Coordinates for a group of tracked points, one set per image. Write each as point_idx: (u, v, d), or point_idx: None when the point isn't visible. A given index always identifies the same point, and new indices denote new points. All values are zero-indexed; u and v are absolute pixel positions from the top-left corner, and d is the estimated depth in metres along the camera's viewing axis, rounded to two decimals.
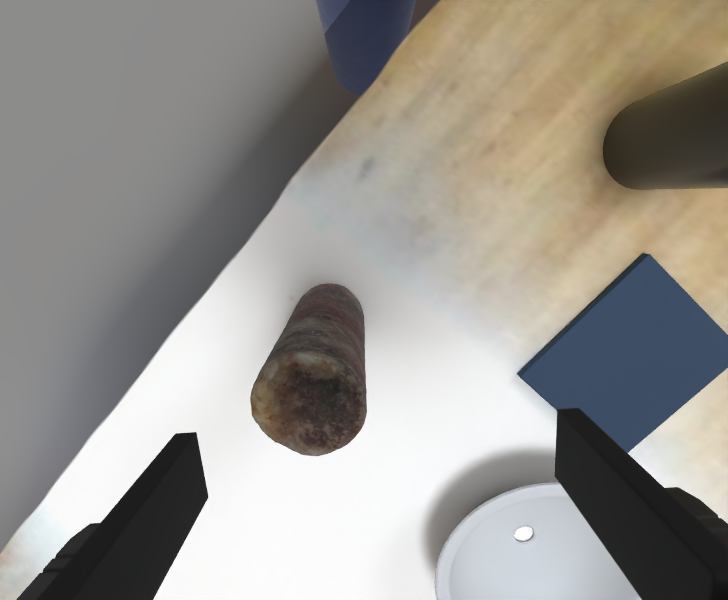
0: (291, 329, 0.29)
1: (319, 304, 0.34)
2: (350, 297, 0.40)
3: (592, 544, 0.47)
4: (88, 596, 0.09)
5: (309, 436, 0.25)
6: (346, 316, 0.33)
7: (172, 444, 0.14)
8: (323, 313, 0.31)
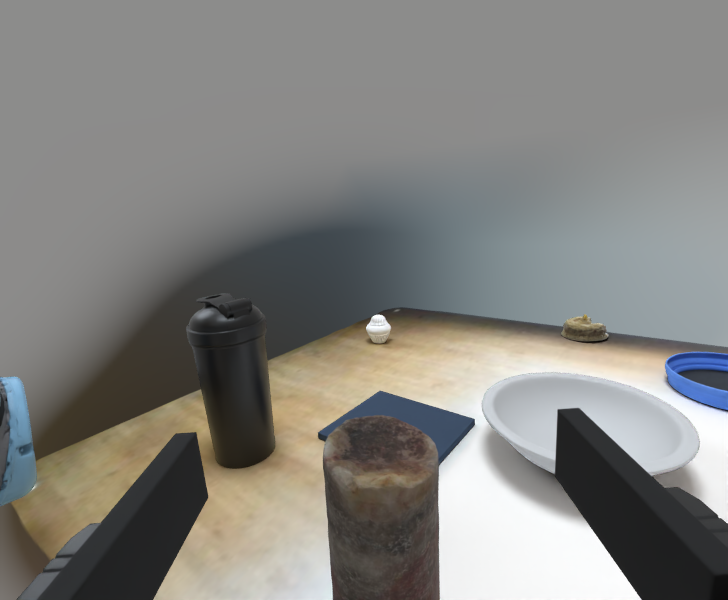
0: (334, 550, 0.24)
1: None
2: None
3: (545, 413, 0.60)
4: (88, 596, 0.09)
5: (416, 451, 0.25)
6: None
7: (172, 444, 0.14)
8: None
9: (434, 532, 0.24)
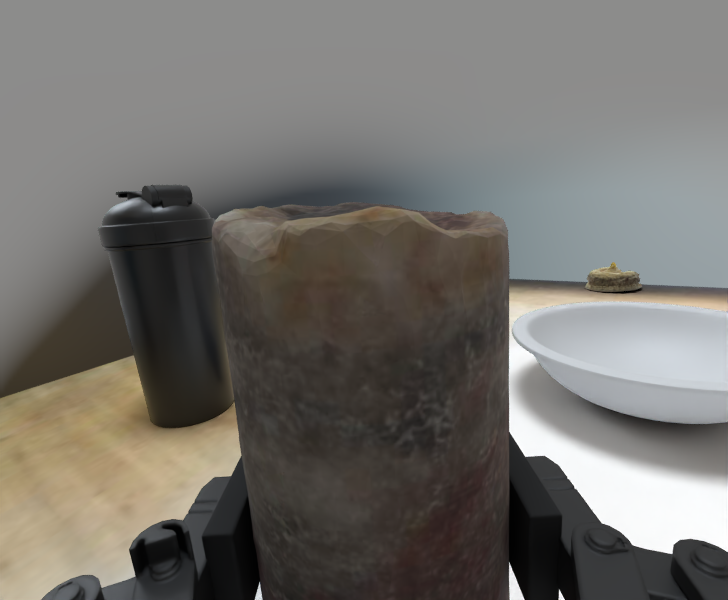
0: (247, 469, 0.09)
1: None
2: None
3: (593, 351, 0.45)
4: (242, 527, 0.10)
5: (448, 225, 0.10)
6: None
7: None
8: None
9: (505, 411, 0.09)
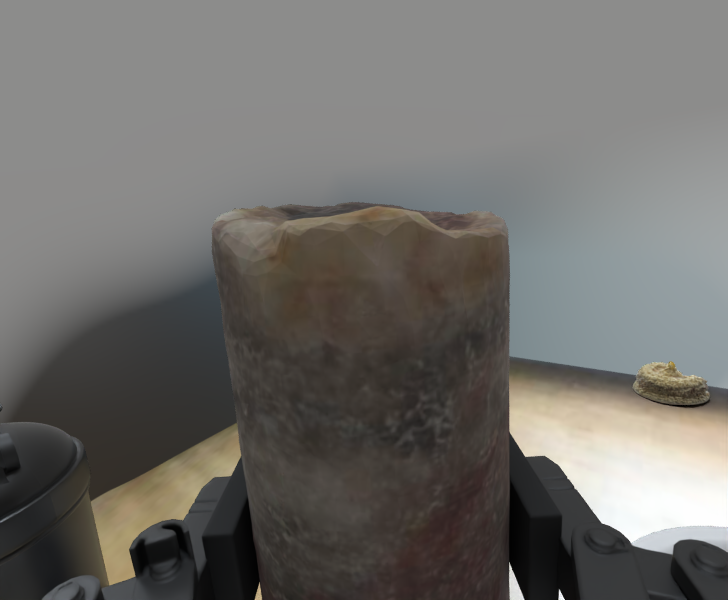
0: (247, 469, 0.09)
1: None
2: None
3: None
4: (242, 527, 0.10)
5: (448, 226, 0.10)
6: None
7: None
8: None
9: (505, 412, 0.09)
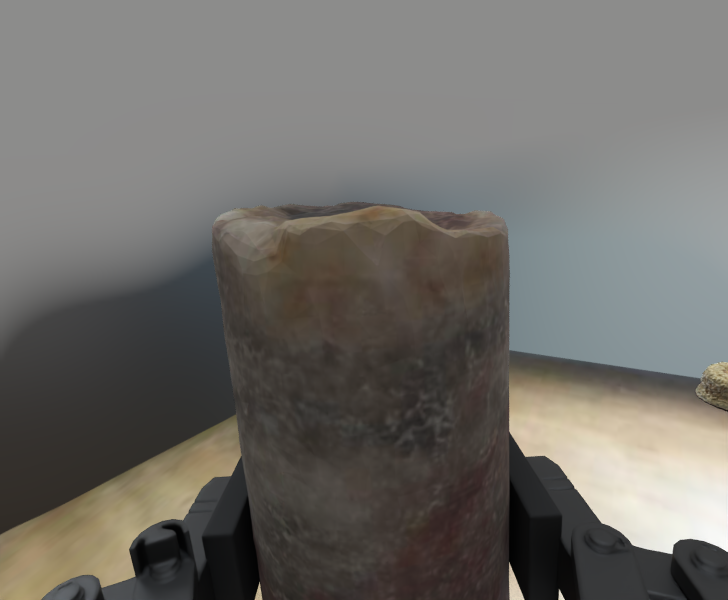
0: (247, 468, 0.09)
1: None
2: None
3: None
4: (242, 527, 0.10)
5: (448, 225, 0.10)
6: None
7: None
8: None
9: (505, 411, 0.09)
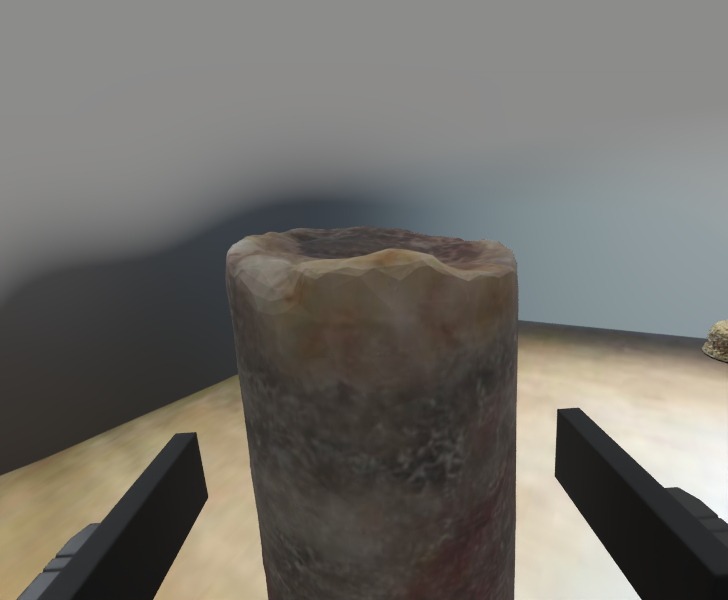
0: (259, 496, 0.09)
1: None
2: None
3: None
4: (88, 596, 0.09)
5: (457, 256, 0.10)
6: None
7: (172, 444, 0.14)
8: None
9: (513, 442, 0.09)
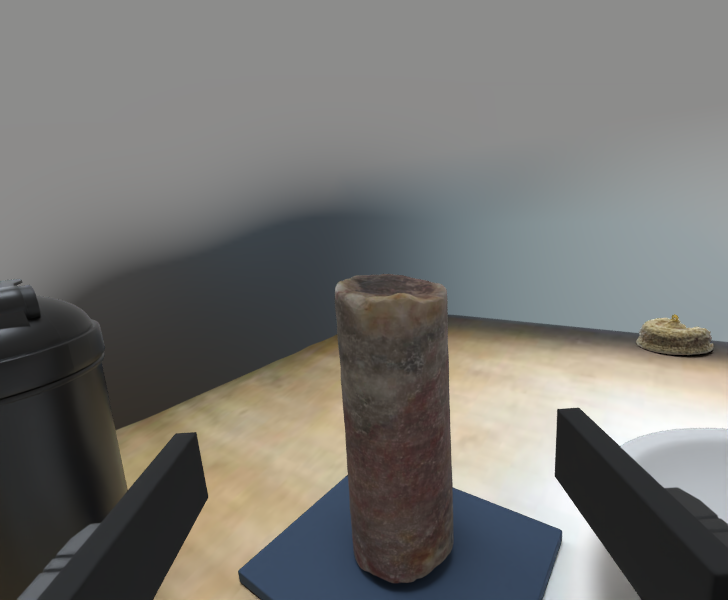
0: (348, 383, 0.25)
1: (346, 446, 0.27)
2: None
3: None
4: (88, 596, 0.09)
5: (425, 290, 0.26)
6: None
7: (172, 444, 0.14)
8: (343, 409, 0.27)
9: (445, 362, 0.25)
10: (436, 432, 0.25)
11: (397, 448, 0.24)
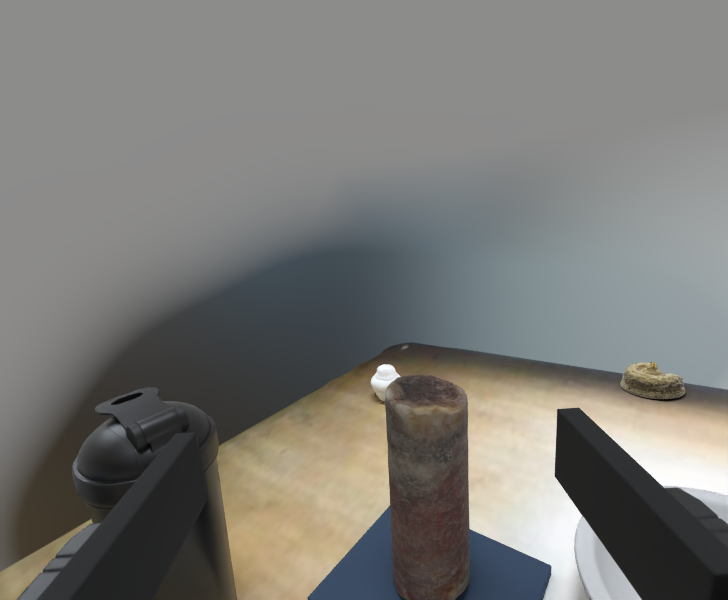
0: (396, 465, 0.34)
1: (390, 506, 0.37)
2: None
3: None
4: (88, 596, 0.09)
5: (451, 395, 0.35)
6: None
7: (172, 444, 0.14)
8: (389, 478, 0.37)
9: (466, 450, 0.34)
10: (459, 501, 0.34)
11: (432, 514, 0.33)
